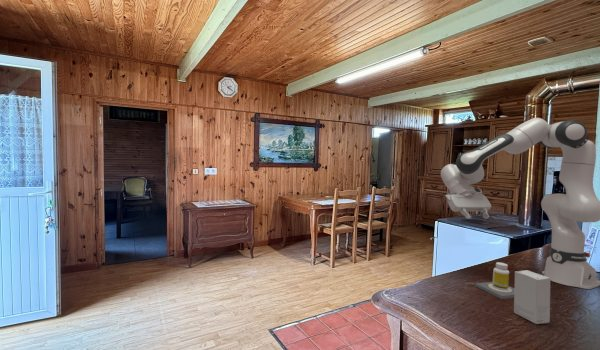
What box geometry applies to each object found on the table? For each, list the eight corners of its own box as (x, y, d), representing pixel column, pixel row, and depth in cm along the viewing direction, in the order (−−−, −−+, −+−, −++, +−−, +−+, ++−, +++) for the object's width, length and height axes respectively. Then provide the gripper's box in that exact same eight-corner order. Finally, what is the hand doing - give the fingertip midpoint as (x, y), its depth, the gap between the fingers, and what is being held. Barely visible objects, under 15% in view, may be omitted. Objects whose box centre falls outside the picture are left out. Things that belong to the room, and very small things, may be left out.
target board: (497, 283, 129) (498, 280, 129) (525, 296, 118) (525, 292, 118) (475, 286, 126) (475, 282, 126) (501, 299, 115) (501, 295, 115)
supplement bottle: (510, 291, 119) (512, 266, 118) (495, 289, 120) (497, 265, 119) (504, 285, 124) (506, 262, 124) (489, 284, 125) (491, 261, 125)
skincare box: (549, 323, 98) (553, 278, 97) (535, 325, 97) (538, 279, 96) (525, 310, 106) (528, 269, 105) (511, 311, 105) (514, 269, 104)
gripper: (447, 189, 136) (463, 214, 127) (483, 189, 142) (501, 213, 133) (440, 197, 141) (454, 222, 132) (475, 197, 146) (491, 221, 138)
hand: (478, 218), depth 133 cm, fingers open, 8 cm apart
